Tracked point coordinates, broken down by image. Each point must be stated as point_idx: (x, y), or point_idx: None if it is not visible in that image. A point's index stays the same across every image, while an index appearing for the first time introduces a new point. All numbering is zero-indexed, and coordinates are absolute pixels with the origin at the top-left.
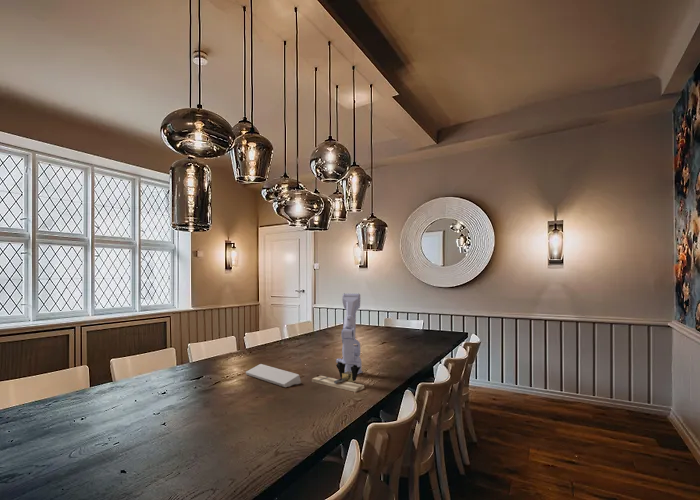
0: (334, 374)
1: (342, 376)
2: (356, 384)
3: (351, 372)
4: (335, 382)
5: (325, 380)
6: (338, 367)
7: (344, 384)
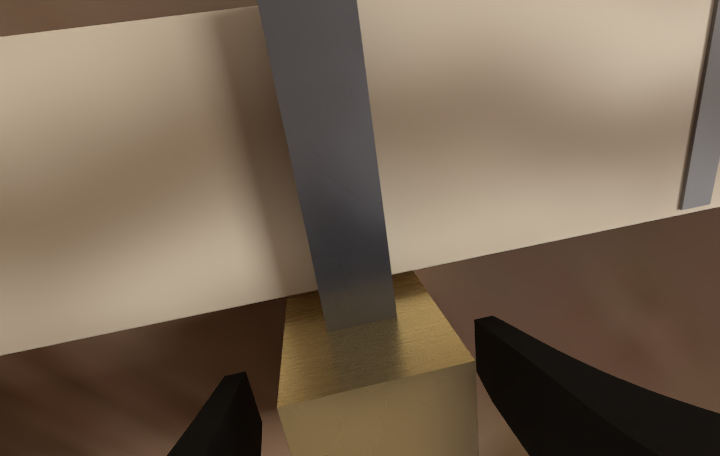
0: (699, 395)
1: (433, 318)
2: (16, 306)
3: None
4: None
5: (630, 40)
6: (717, 445)
7: (164, 133)
